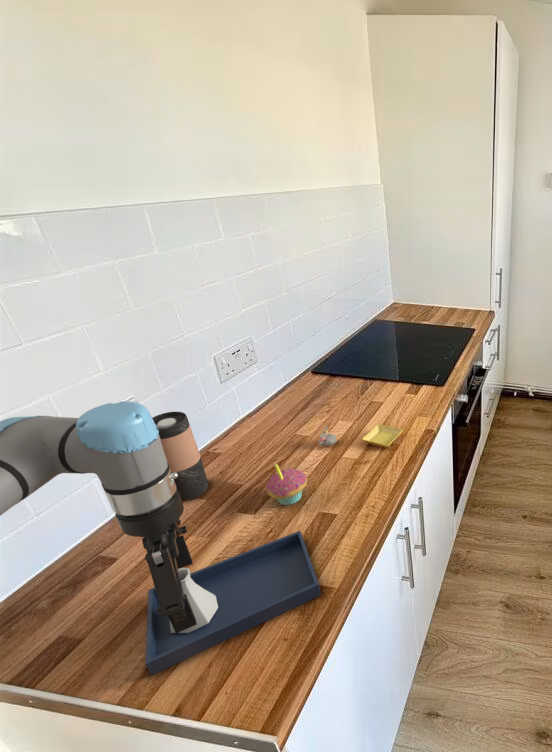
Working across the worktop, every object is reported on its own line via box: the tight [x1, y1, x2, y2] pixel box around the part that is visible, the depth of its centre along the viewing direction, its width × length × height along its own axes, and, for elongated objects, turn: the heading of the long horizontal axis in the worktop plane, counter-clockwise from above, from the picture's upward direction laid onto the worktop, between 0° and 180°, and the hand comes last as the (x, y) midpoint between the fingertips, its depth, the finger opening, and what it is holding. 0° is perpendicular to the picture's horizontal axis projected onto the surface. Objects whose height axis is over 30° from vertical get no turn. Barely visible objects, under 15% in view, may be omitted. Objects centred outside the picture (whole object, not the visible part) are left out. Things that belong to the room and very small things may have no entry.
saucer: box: [361, 423, 404, 449], centre depth 125 cm, size 9×9×2 cm
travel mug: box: [152, 411, 209, 502], centre depth 99 cm, size 8×8×20 cm
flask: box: [170, 567, 218, 633], centre depth 74 cm, size 7×7×10 cm
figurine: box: [318, 424, 338, 448], centre depth 121 cm, size 5×4×6 cm
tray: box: [145, 530, 322, 676], centre depth 79 cm, size 25×15×3 cm, turn 125°
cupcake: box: [265, 462, 308, 506], centre depth 100 cm, size 9×8×12 cm
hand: (184, 594), depth 74 cm, fingers open, 13 cm apart
